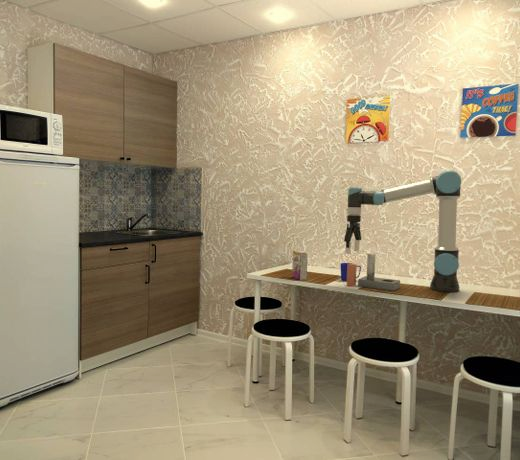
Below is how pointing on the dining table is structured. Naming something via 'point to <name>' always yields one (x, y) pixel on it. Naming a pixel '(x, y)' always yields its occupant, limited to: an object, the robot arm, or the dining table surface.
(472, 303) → the dining table surface
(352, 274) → the orange rectangular block
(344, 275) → the mug
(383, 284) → the gray socket post base
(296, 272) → the candy bar box
